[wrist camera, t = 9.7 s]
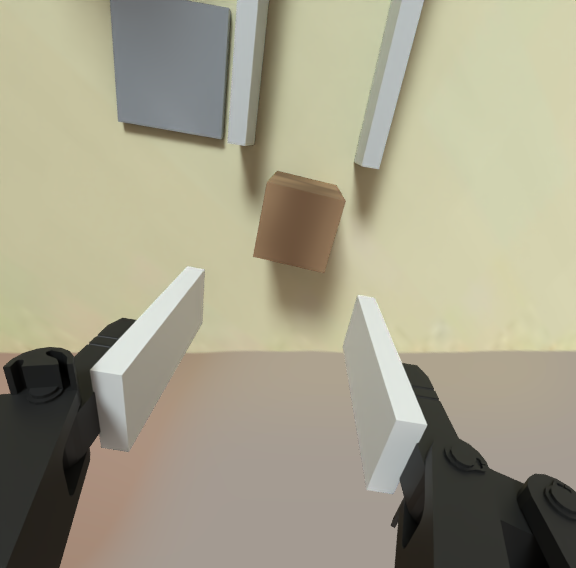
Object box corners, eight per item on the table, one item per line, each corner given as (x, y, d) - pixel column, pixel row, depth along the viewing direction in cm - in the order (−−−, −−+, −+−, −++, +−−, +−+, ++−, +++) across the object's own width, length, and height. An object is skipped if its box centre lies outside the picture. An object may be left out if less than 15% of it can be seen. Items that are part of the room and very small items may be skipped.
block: (265, 229, 28) (252, 256, 21) (277, 170, 26) (267, 182, 19) (320, 242, 28) (324, 273, 22) (336, 185, 26) (345, 201, 19)
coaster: (122, 121, 25) (118, 121, 24) (114, -10, 21) (109, -14, 21) (223, 139, 25) (221, 139, 24) (230, 11, 21) (229, 8, 21)
